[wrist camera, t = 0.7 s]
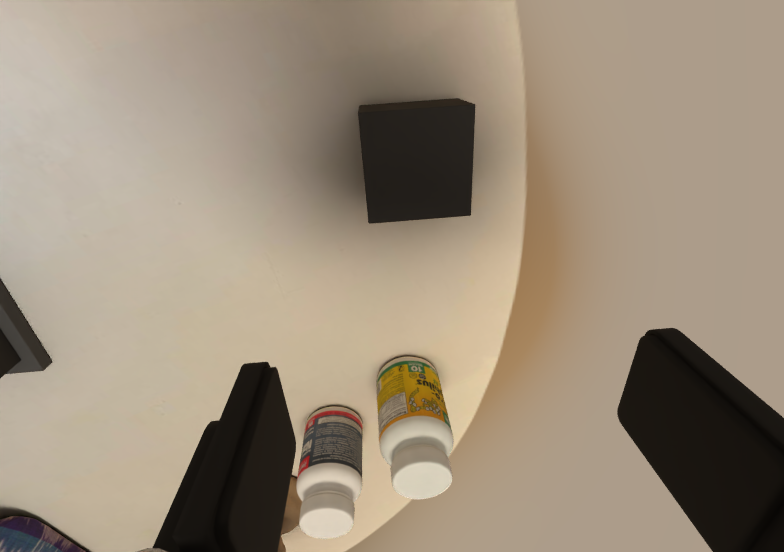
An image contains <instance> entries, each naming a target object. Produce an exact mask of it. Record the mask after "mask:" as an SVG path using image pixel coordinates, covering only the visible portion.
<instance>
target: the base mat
mask: <svg viewBox="0 0 784 552" xmlns="http://www.w3.org/2000/svg"><path fill="white" fill-rule="evenodd" d="M51 363H52V361H51V360H50V358H49V356H48V355H47V353H46V352H45V350H44V348H43V347H42V345H41V344H40V342H39V341H38V339H37V337H36V336H35V334H34V333H33V331H32V329H31V328H30V326H29V325H28V323H27V321H26V320H25V318H24V317H23V315H22V314H21V312H20V310H19V309H18V307H17V306H16V304H15V302H14V301H13V299H12V298H11V296H10V295H9V293H8V291H7V290H6V288H5V287H4V285H3V283H2V282H1V280H0V378H1V377H2V376H3V375H5V374H11V373H22V372H34V371H43V370H45V369H46V368H47V367H48V366H49V365H50V364H51Z"/></svg>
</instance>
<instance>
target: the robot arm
mask: <svg viewBox="0 0 784 552" xmlns="http://www.w3.org/2000/svg"><path fill="white" fill-rule="evenodd" d="M618 418H619V421H620V422H621V424H622V426H623V427H624V429H625V430H626V431H627V433H628V434H629V436H630V437H631V438H632V439H633V441H634V443H635V444H636V445H637V447H638V448H639V449H640V451H641V452H642V454H643V455H644V456H645V458H646V459H647V461H648V462H649V463H650V465H651V466H652V468H653V469H654V470H655V472H656V473H657V475H658V476H659V477H660V479H661V480H662V482H663V483H664V484H665V486H666V487H667V488H668V490H669V491H670V493H671V494H672V495H673V497H674V498H675V500H676V501H677V502H678V504H679V505H680V506H681V508H682V509H683V511H684V512H685V514H686V515H687V516H688V518H689V519H690V521H691V522H692V523H693V525H694V526H695V527H696V529H697V530H698V532H699V533H700V534H701V536H702V537H703V538H704V540H705V541H706V543H707V544H708V546H709V547H710V548H711V550H712V551H713V552H784V418H783V417H782V416H781V415H779V414H778V413H777V412H776V411H775V410H773V409H772V408H771V407H770V406H769V405H767V404H766V403H765V402H764V401H763V400H761V399H760V398H759V397H758V396H757V395H756V394H754V393H753V392H752V391H751V390H750V389H748V388H747V387H746V386H745V385H744V384H742V383H741V382H740V381H739V380H738V379H736V378H735V377H734V376H733V375H732V374H730V373H729V372H728V371H727V370H726V369H724V368H723V367H722V366H721V365H720V364H719V363H717V362H716V361H715V360H714V359H713V358H711V357H710V356H709V355H708V354H707V353H705V352H704V351H703V350H702V349H701V348H699V347H698V346H697V345H696V344H695V343H694V342H692V341H691V340H690V339H689V338H687V337H686V336H685V335H684V334H683V333H681V332H680V331H679V330H677V329H675V328H666V329H655V330H649V331H647V332H646V334H645V336H643V337H641V339H640V340H639V343H638V346H637V350H636V353H635V356H634V359H633V362H632V365H631V369H630V372H629V375H628V378H627V381H626V384H625V388H624V391H623V394H622V397H621V400H620V403H619V406H618ZM295 452H296V441H295V436H294V432H293V428H292V424H291V420H290V416H289V412H288V409H287V405H286V401H285V397H284V393H283V389H282V385H281V382H280V378H279V374H278V370H277V368H276V367H270V365H269V363H268V362H260V363H248V364H244V365H243V366H242V367H241V369H240V372H239V374H238V377H237V379H236V382H235V384H234V386H233V389H232V391H231V394H230V396H229V399H228V401H227V403H226V406H225V408H224V411H223V413H222V416H221V418H220V420H219V421H211V422H210V423H209V424H208V425H207V427H206V429H205V430H204V433H203V435H202V437H201V439H200V442H199V444H198V446H197V448H196V451H195V453H194V455H193V458H192V460H191V462H190V464H189V467H188V469H187V471H186V473H185V476H184V478H183V480H182V482H181V485H180V487H179V489H178V492H177V494H176V496H175V498H174V501H173V503H172V505H171V507H170V510H169V512H168V514H167V517H166V519H165V521H164V523H163V526H162V528H161V530H160V532H159V535H158V537H157V539H156V541H155V544H154V546H153V548H147V549H144V550H141V551H137V552H278V547H279V541H280V536H281V530H282V525H283V519H284V514H285V508H286V502H287V497H288V491H289V486H290V480H291V475H292V469H293V463H294V458H295Z"/></svg>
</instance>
